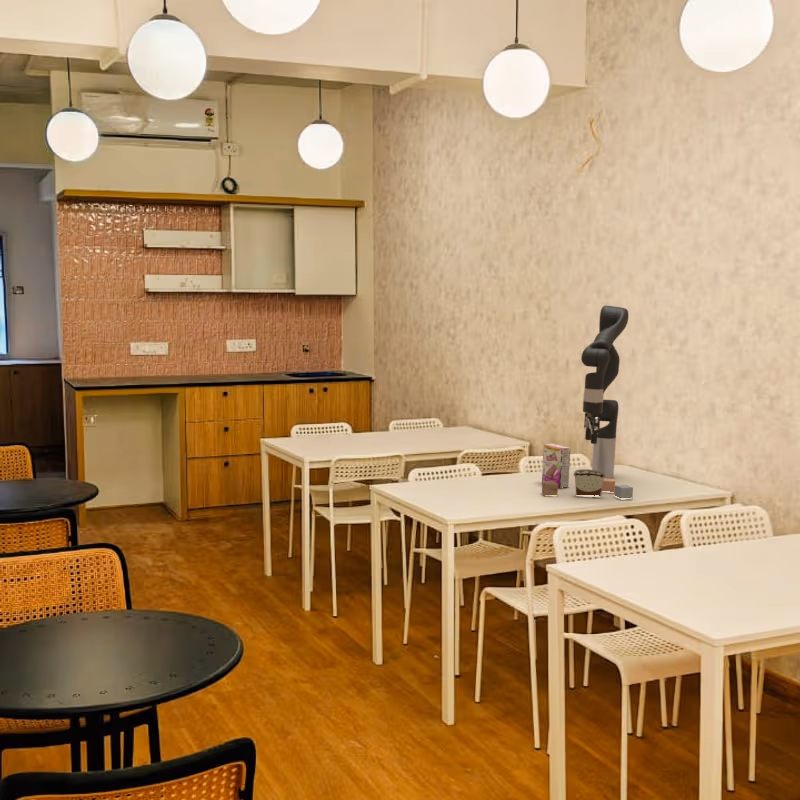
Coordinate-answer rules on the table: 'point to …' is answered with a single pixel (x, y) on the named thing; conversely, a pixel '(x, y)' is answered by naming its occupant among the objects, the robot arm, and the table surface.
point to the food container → (588, 482)
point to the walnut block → (549, 488)
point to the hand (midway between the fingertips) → (590, 441)
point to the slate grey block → (623, 491)
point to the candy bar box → (556, 464)
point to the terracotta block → (608, 485)
